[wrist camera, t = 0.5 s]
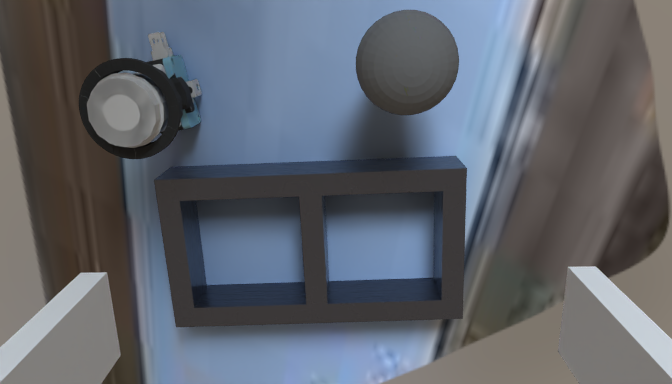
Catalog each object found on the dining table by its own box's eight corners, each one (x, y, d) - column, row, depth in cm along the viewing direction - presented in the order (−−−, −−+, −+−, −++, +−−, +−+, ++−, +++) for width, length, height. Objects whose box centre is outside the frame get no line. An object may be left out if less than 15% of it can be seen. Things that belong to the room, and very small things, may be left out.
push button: (124, 41, 36) (44, 45, 26) (200, 23, 35) (146, 21, 26) (155, 136, 38) (90, 172, 28) (227, 120, 37) (186, 152, 28)
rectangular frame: (170, 167, 38) (154, 180, 35) (456, 156, 38) (466, 168, 34) (189, 303, 41) (176, 327, 38) (452, 295, 41) (462, 318, 37)
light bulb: (379, -2, 35) (392, -15, 25) (451, 39, 35) (491, 43, 26) (339, 74, 36) (336, 90, 27) (409, 113, 37) (432, 141, 27)
